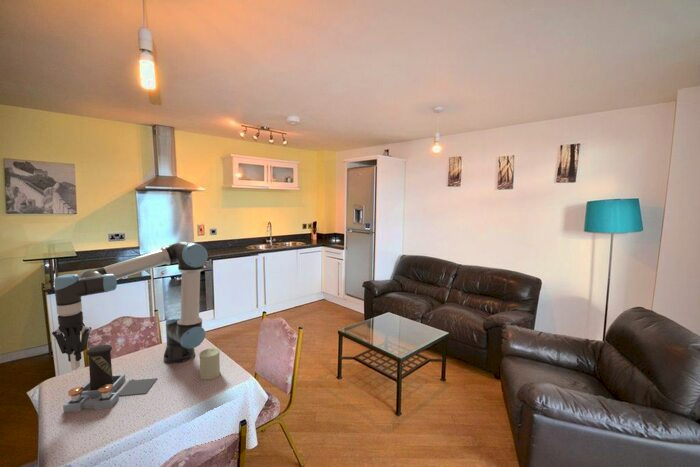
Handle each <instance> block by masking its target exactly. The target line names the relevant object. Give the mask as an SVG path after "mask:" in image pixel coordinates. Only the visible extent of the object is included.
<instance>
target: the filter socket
mask: <svg viewBox="0 0 700 467" xmlns="http://www.w3.org/2000/svg"><path fill="white" fill-rule="evenodd" d="M112 377H113V389H112V390H111V393H116V391H117V390H118V389H119V388H120V387H121V385H122V384H123V383H124V382H125V381H126V374H125V373H124V374H122V373H121V374H112ZM82 387H83V388H84V391H83V392H82V393H81V396H84V395H89V397H90V399H97V398H99V397H100V396H101V393H99V390H91V391H90V380H88V382H86V383H85V384H84V385H83V386H82Z"/></svg>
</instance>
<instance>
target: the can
mask: <svg viewBox="0 0 700 467" xmlns="http://www.w3.org/2000/svg"><path fill="white" fill-rule="evenodd" d="M220 353H221V351H220V350H219V348H212V347H211V348H206V349H203V350H202V351H200V353H199V367H200V368H199V373H200V374H199V377H200V379H202V380H204V381H205V380H212V379H215V378H217V377H218V376H220V374H221V371H220V370H221V369H220V367H221V366H220Z"/></svg>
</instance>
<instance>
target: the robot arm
mask: <svg viewBox="0 0 700 467" xmlns="http://www.w3.org/2000/svg"><path fill="white" fill-rule="evenodd" d="M208 257H209V256H208V251H207V249H206V248H205V247H204V245H201V244H199V243H197V242H190V241H186V240H185V241H178V242H174V243H172V244H169V245H166V246H163V247H161V248H160V249H158V250H156V251H153V252H150V253H149V252H148V253H146V254H143V255H140V256H137V257H133V258H130V259H126V260H122V261H120V262H116V263H113V264H110V265H106V266H103V267H99V268H97V269H87V270H83V271H82V273H80V275H79V274H77V273H71V274H70V273H68V274H61V275H59V276H56V277H55V278H54V282H53V283H54V297H55V303H56V304H55V306H56V313H57V322H58V328H57V329H55V330H53V331H52V332H51V335H52V336H53V337H54V338H55V341H56V342H57V345H58V347H59V350H60V353H61V354H66V355H67V361H68V362H70V367H71V371H77V369H79V368H80V367H81V361H80V360H82V352H84V351H85V350H87V346H88V341H89V335H90V332H91V330H92V327H91V326H89V327H87V326H86V325H85V323H84V313H83V305H82V297H86V296H92V295H97V294H104V293H109V292H112V291H116V289H117V287H118V286H117V284H118V282H117V281H118V280H121V279H123V278H127V277H129V276H132V275H135V274H138V273H142V272H144V271H149V270H152V269H154V268H156V267H160V266H163V265H168V266H169V265H172V264H178V265H177V266H178V267H177V268H178V270H179V272H181V279H180V280H181V282H180V283H181V284H180V287H181V288H180V290H181V292H180V293H181V294H180V314H176V315H173V316H170V317H168V318H166V320H165V335H166V336H165V338H166V347H165V350H164V353H163V361H164V362H165V363H166V364H179V363H183V362H185V361H188V360H191V359H192V358H193V357H194V356H195V354H196V353H195V352H196V350H195V348H197V347H199V346H200V345H201V344H202V343H203V342H204V340H205V338H206V331H205V329H204V327H203V318H202V317H200V298H201V297H200V295H201V293H200V291H201V272H203V270H204V265H205V264H206V262H207V261H208ZM81 334H82V335H81Z"/></svg>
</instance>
